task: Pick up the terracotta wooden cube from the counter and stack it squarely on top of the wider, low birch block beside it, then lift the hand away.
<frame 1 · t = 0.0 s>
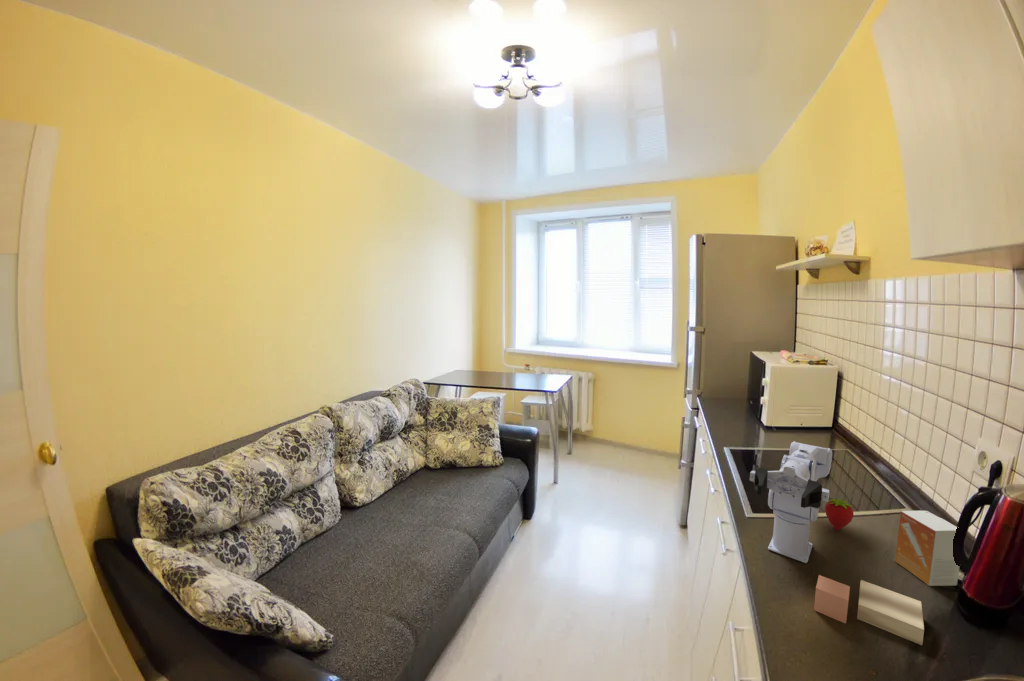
hand: (780, 496, 83), 22 cm above the worktop, tool horizontal, fingers open, 7 cm apart
small box: (924, 574, 91), on the worktop
strawberry: (837, 530, 108), on the worktop
terracotta cube: (830, 609, 81), on the worktop
birch base block: (888, 618, 79), on the worktop
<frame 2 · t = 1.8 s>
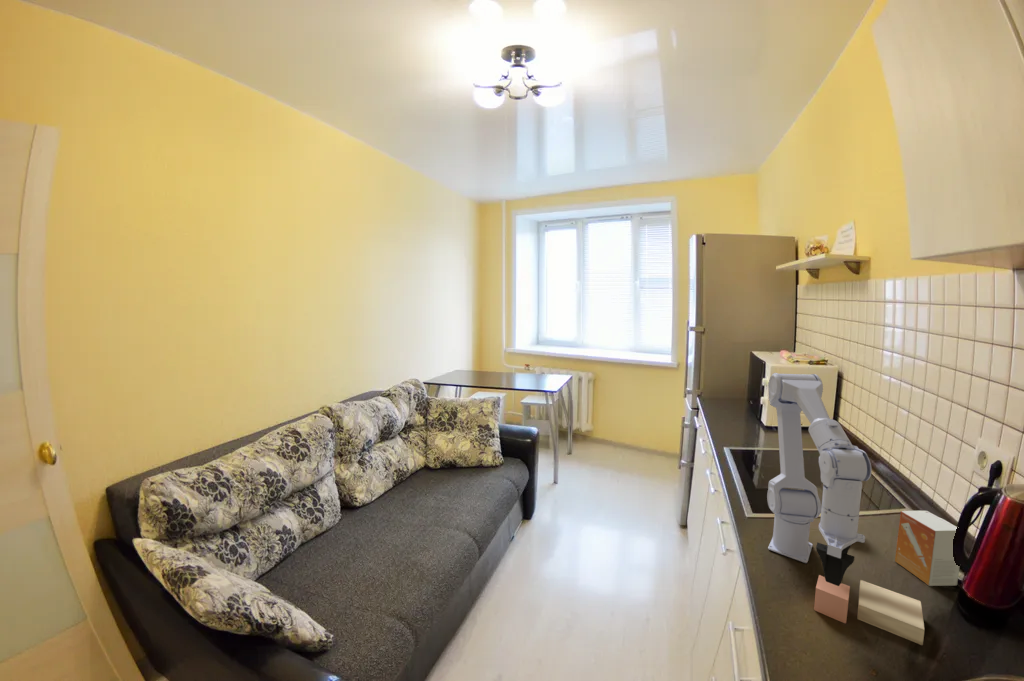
hand: (834, 572, 80), 8 cm above the worktop, tool pointing down, fingers open, 7 cm apart
nothing on the worktop moved.
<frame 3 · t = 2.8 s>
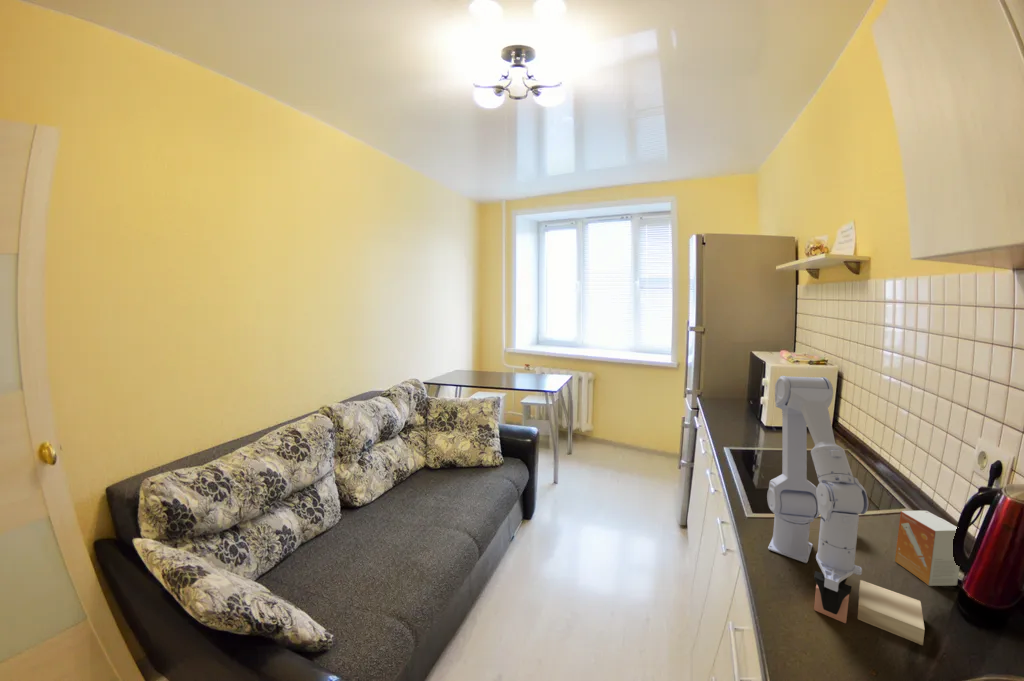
hand: (831, 602, 81), 1 cm above the worktop, tool pointing down, fingers closed on terracotta cube, 5 cm apart
terracotta cube: (830, 609, 81), on the worktop, touching gripper
everything else where it was.
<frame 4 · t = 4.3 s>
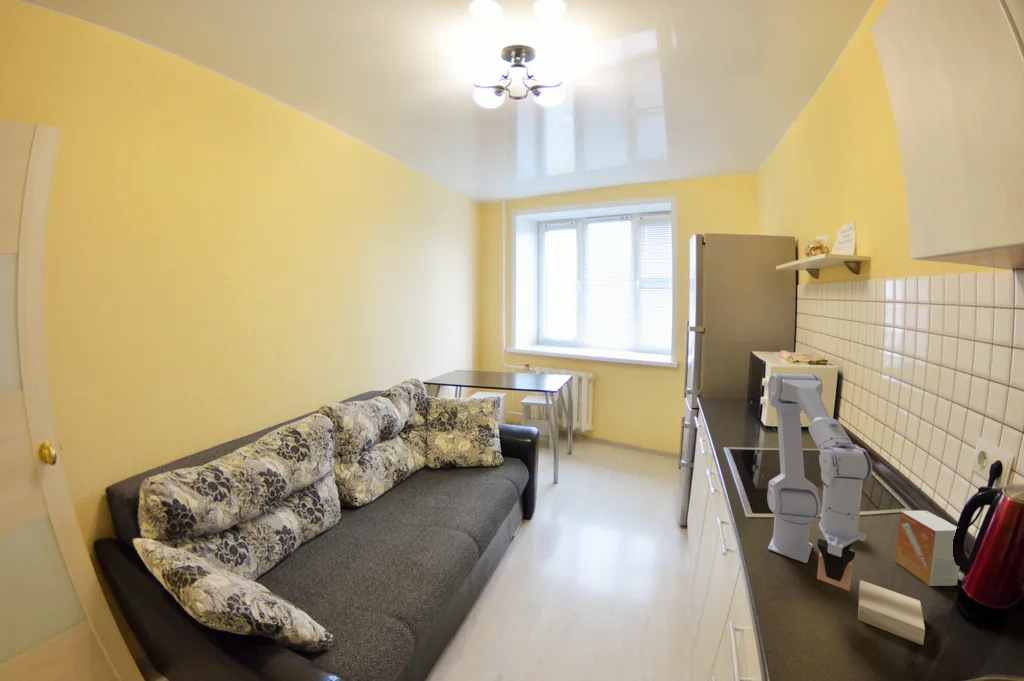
hand: (834, 571, 80), 8 cm above the worktop, tool pointing down, fingers closed on terracotta cube, 5 cm apart
terracotta cube: (834, 577, 80), point 7 cm above the worktop, touching gripper
everything else where it was.
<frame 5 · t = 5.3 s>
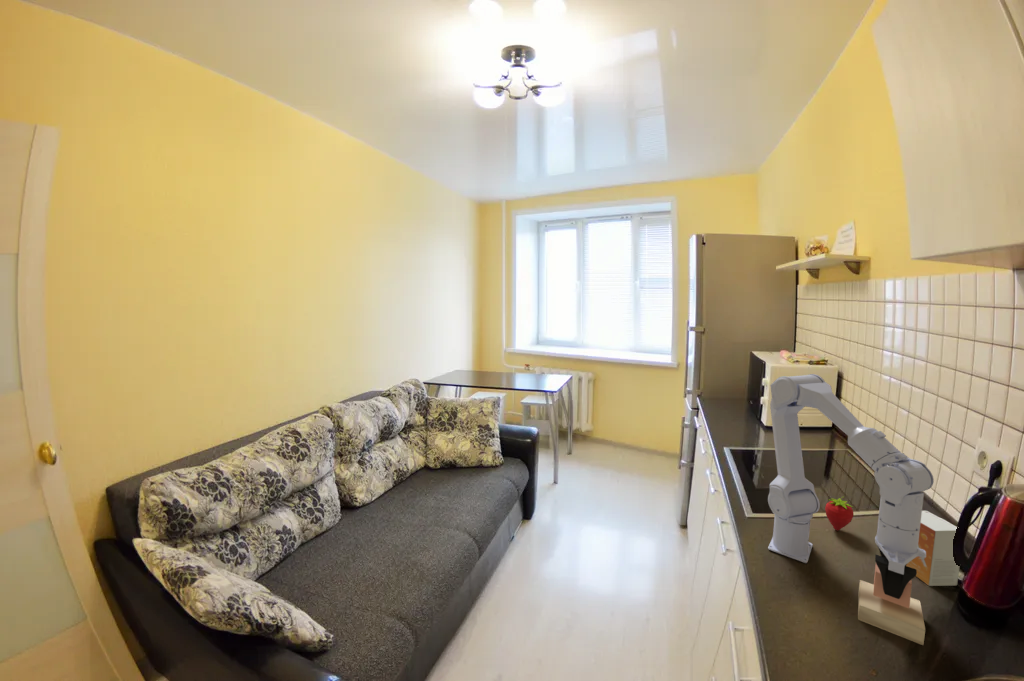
hand: (891, 587, 78), 6 cm above the worktop, tool pointing down, fingers closed on terracotta cube, 5 cm apart
terracotta cube: (890, 594, 78), point 5 cm above the worktop, touching gripper
everything else where it was.
when the fingers open (6 cm above the worktop, at t = 5.8 s): terracotta cube drops 2 cm, resting on birch base block.
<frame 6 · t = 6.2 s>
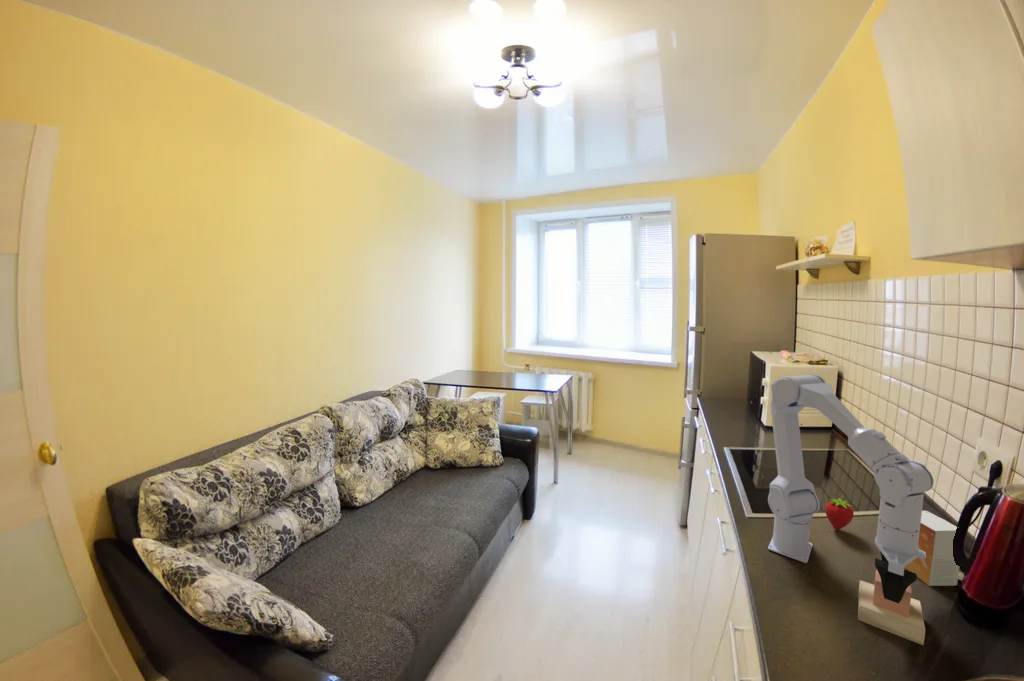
hand: (891, 588, 78), 6 cm above the worktop, tool pointing down, fingers open, 7 cm apart
terracotta cube: (890, 602, 79), point 3 cm above the worktop, touching birch base block
birch base block: (888, 619, 79), on the worktop, touching terracotta cube
everything else where it was.
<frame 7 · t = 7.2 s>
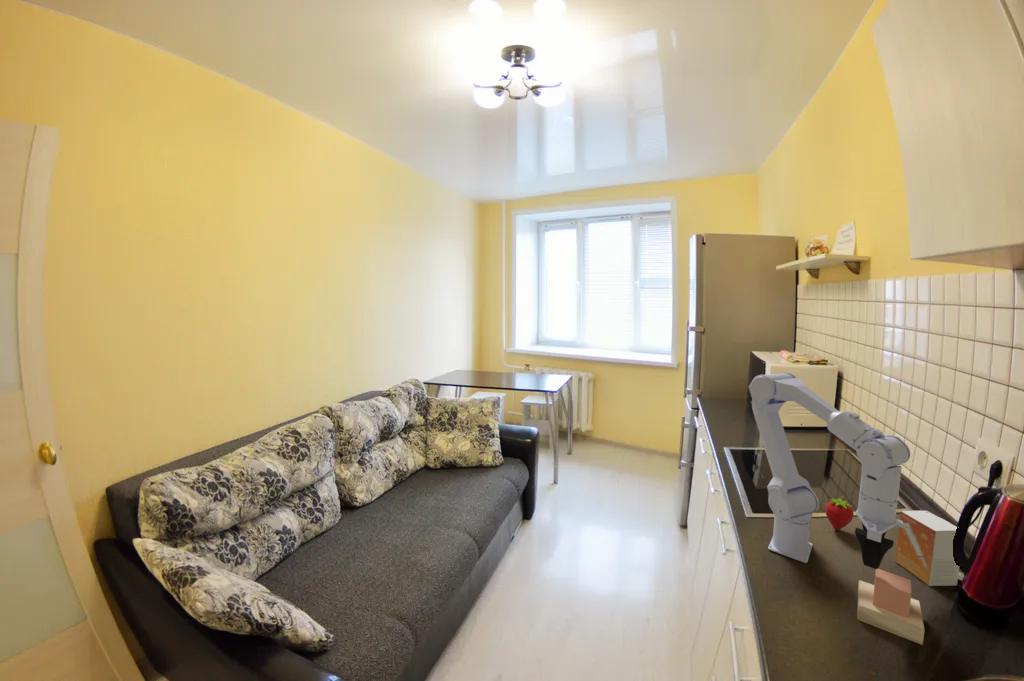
hand: (871, 556, 83), 9 cm above the worktop, tool pointing down, fingers open, 7 cm apart
nothing on the worktop moved.
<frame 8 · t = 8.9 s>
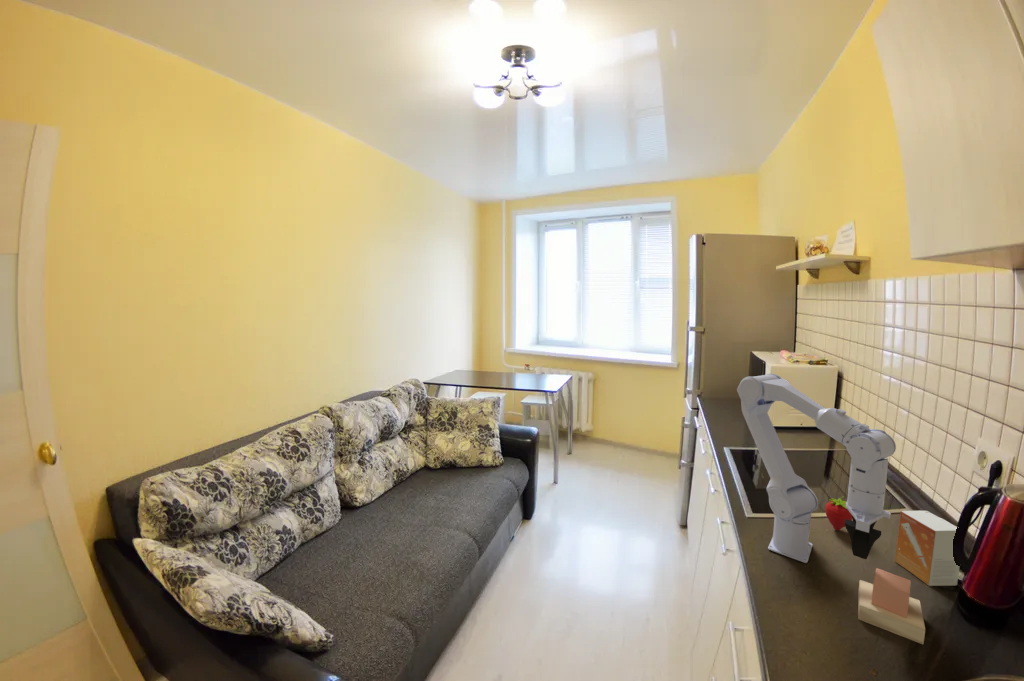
hand: (860, 547, 86), 9 cm above the worktop, tool pointing down, fingers open, 7 cm apart
terracotta cube: (889, 603, 79), point 3 cm above the worktop
birch base block: (888, 618, 79), on the worktop
everything else where it was.
at the end: terracotta cube 0.4 cm off-centre on the birch base block, point 3.5 cm above the birch base block's base; terracotta cube tilted 1°; the gripper is holding nothing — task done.
